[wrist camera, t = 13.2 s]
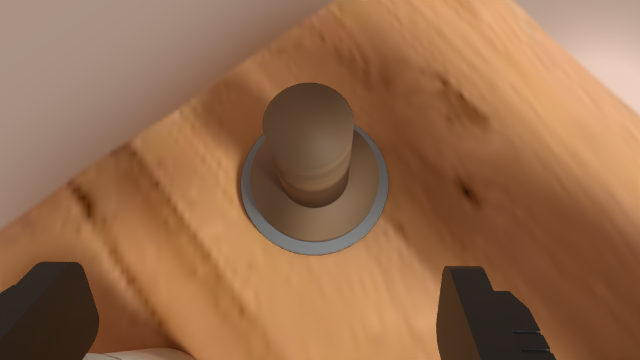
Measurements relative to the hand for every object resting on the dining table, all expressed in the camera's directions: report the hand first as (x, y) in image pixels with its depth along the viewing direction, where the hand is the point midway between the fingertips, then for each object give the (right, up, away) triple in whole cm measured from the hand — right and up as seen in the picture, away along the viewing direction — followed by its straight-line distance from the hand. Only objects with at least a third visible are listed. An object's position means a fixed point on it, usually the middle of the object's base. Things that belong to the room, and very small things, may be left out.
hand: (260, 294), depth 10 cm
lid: (+1, +3, +17) cm, 17 cm away
